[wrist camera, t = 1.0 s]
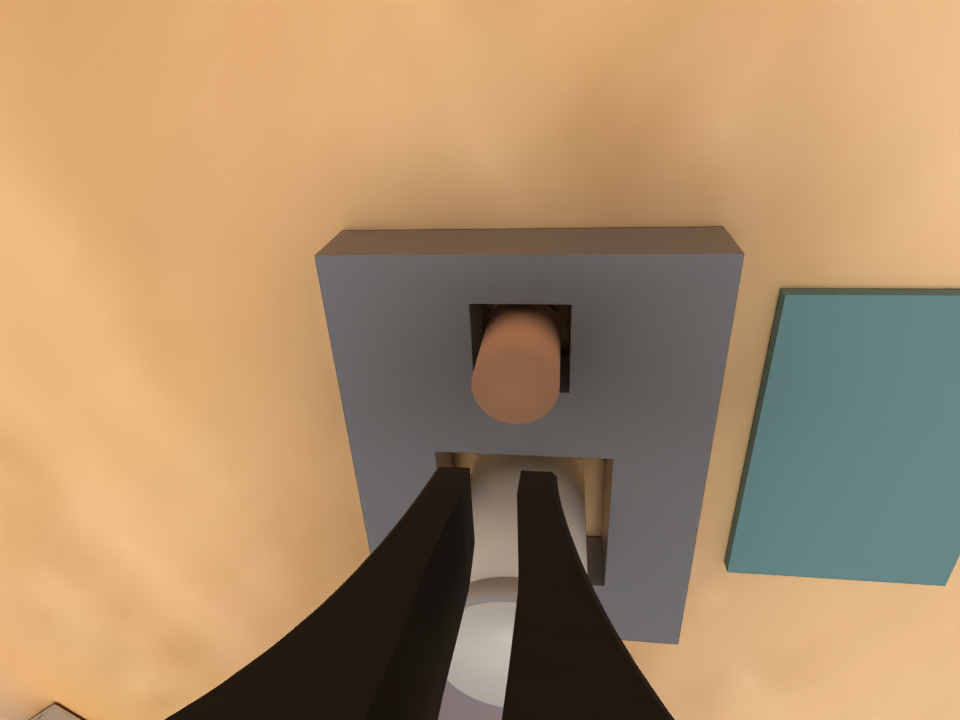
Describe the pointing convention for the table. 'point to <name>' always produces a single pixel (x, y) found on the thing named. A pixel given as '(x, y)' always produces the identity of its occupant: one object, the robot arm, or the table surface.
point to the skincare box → (55, 714)
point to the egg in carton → (518, 363)
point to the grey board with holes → (583, 379)
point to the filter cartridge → (503, 566)
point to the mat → (855, 440)
